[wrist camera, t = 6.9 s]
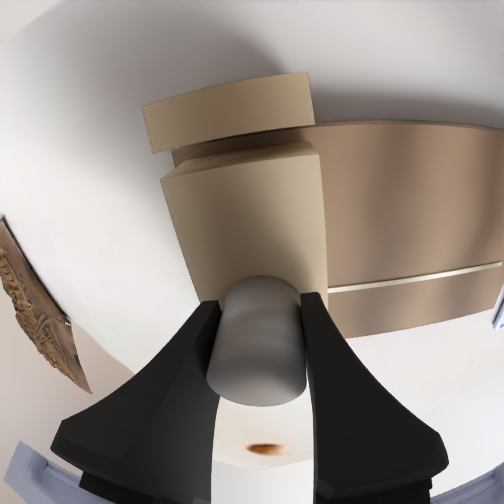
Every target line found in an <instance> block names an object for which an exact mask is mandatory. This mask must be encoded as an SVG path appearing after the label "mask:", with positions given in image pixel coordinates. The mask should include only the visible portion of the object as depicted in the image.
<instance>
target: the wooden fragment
mask: <svg viewBox="0 0 504 504" xmlns="http://www.w3.org/2000/svg"><path fill="white" fill-rule="evenodd" d="M0 276H1V277H2V284H3V287H4V290H5V291H6V293H7V294H8V295H9V296H10V297H11V298H12V302H13V304H14V308H15V311H16V312H17V314H16V315H15V316H16V319H17V321H18V323H19V324H20V327H21V328H22V329H23V330H24V332H25V333H26V334H27V336H28V337H29V339H31V340H32V341H33V343H34V344H35V345H36V347H37V349H38V351H39V353H40V354H43V355H44V357H45V358H46V360H47V361H49V362H50V364H51V365H52V366H53V367H54V368H57V369H58V370H59V371H60V372H61V373H63V374H64V375H65V376H68V377H69V378H70V379H71V380H72V381H73V382H74V383H75V384H76V385H78V386H79V387H80V388H82V389H83V390H85V391H86V392H88V393H90V394H92V392H91V391H90V388H89V386H88V383H87V380H86V378H85V375H84V372H83V370H82V368H81V365H80V362H79V359H78V355H77V351H76V347H75V344H74V339H73V335H72V331H71V326H69V325H66V324H65V322H67V323H69V324H71V322H70V321H69V320H68V319H67V318H66V317H64V316H63V315H62V314H61V312H60V311H59V310H58V308H57V307H56V305H55V304H54V303H53V302H52V300H51V299H50V297H49V296H48V294H47V293H46V291H45V290H44V289H43V287H42V286H41V284H40V282H39V281H38V279H37V278H36V276H35V275H34V273H33V271H32V270H31V268H30V267H29V265H28V263H27V262H26V260H25V258H24V257H23V255H22V253H21V251H20V249H19V248H18V247H17V244H16V242H15V240H14V239H13V237H12V236H11V234H10V232H9V231H8V230H7V228H6V226H5V224H4V222H3V219H2V220H1V221H0Z"/></svg>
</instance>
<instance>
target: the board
mask: <svg viewBox="0 0 504 504" xmlns="http://www.w3.org/2000/svg"><path fill="white" fill-rule="evenodd" d="M305 141H309V142H310V143H311V144H312V146H313V147H314V148H315V150H316V151H317V152H318V154H319V159H320V168H321V178H322V189H323V201H324V215H325V230H326V250H327V279H328V313H329V314H330V316H331V318H332V320H333V322H334V323H335V325H336V326H337V328H338V330H339V331H340V333H341V334H342V336H343V338H344V339H346V338H354V337H361V336H368V335H375V334H381V333H387V332H393V331H398V330H404V329H409V328H414V327H419V326H424V325H429V324H433V323H438V322H442V321H447V320H451V319H455V318H459V317H463V316H467V315H471V314H474V313H478V312H482V311H485V310H489V309H492V308H494V306H495V303H496V301H497V298H498V296H499V293H500V290H501V288H502V285H503V282H504V130H502V129H496V128H490V127H483V126H476V125H468V124H459V123H448V122H435V121H416V120H356V121H336V122H322V123H315V125H305V126H296V127H287V128H279V129H271V130H264V131H257V132H251V133H245V134H239V135H233V136H228V137H222V138H217V139H212V140H208V141H203V142H198V143H194V144H189V145H185V146H181V147H179V148H177V149H175V150H173V151H171V152H172V156H173V160H174V164H175V168H176V167H178V166H179V165H181V164H182V163H183V162H185V161H186V160H191V159H196V158H201V157H206V156H211V155H216V154H221V153H227V152H232V151H238V150H244V149H251V148H257V147H264V146H271V145H279V144H287V143H296V142H305Z"/></svg>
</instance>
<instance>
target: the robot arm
mask: <svg viewBox="0 0 504 504" xmlns="http://www.w3.org/2000/svg"><path fill="white" fill-rule="evenodd" d="M300 300H301V313H302V325H303V333H304V341H305V356H306V368H307V375H308V381H309V388H310V395H311V402H312V411H313V436H314V490H313V504H504V462H503V463H501V464H500V465H498V466H497V467H495V468H494V469H493V470H491V471H489V472H487V473H486V474H484V475H482V476H480V477H478V478H476V479H474V480H472V481H470V482H468V483H465V484H463V485H461V486H459V487H457V488H454V489H452V490H450V491H447V492H444V493H442V494H439V495H437V496H434V497H431V498H430V493H429V490H430V489H431V488H432V479H431V478H432V477H434V476H435V475H437V474H438V473H440V472H441V471H443V470H444V469H446V467H447V466H448V464H449V460H448V455H447V451H446V448H445V446H444V443H443V441H442V439H441V436H440V434H439V433H438V432H436V431H435V430H434V429H432V428H431V427H429V426H428V425H427V424H425V423H424V422H423V421H421V420H420V419H418V418H417V417H416V416H415V415H414V414H413V413H411V412H410V411H409V410H408V409H407V408H405V407H404V406H403V405H402V404H401V403H400V402H399V401H398V400H397V399H396V398H395V397H394V396H392V395H391V394H390V393H389V392H388V391H387V390H386V389H385V388H384V387H383V386H382V385H381V384H380V383H379V382H378V381H377V379H376V378H375V377H374V376H373V375H372V374H371V373H370V372H369V370H368V369H367V368H366V367H365V366H364V365H363V363H362V362H361V361H360V360H359V358H358V357H357V356H356V354H355V353H354V352H353V350H352V349H351V348H350V346H349V345H348V343H347V342H346V340H345V339H344V338H343V336H342V334H341V333H340V331H339V330H338V328H337V326H336V325H335V323H334V322H333V320H332V318H331V316H330V314H329V313H328V311H327V309H326V307H325V305H324V302H323V300H322V298H321V295H320V293H318V292H309V293H300ZM221 314H222V310H221V307H220V304H219V301H218V300H209V301H202V303H201V304H200V305H199V306H198V307H197V308H196V310H195V311H194V312H193V313H192V315H191V316H190V317H189V318H188V319H187V321H186V322H185V323H184V324H183V326H182V327H181V328H180V329H179V330H178V332H177V333H176V334H175V335H174V336H173V337H172V339H171V340H170V341H169V342H168V343H167V344H166V345H165V346H164V347H163V348H162V350H161V351H160V352H159V353H158V354H157V355H156V356H155V357H154V358H153V359H152V360H151V361H150V362H149V363H148V364H147V365H146V366H145V367H144V368H143V369H141V370H140V371H139V372H138V373H137V374H136V375H135V376H133V377H132V378H131V379H130V380H128V381H127V382H126V383H125V384H123V385H122V386H121V387H119V388H118V389H117V390H115V391H114V392H113V393H111V394H110V395H108V396H107V397H105V398H104V399H102V400H101V401H99V402H97V403H96V404H94V405H92V406H90V407H89V408H87V409H85V410H83V411H81V412H79V413H77V414H75V415H73V416H71V417H69V418H67V419H65V420H62V422H61V424H60V426H59V429H58V431H57V433H56V435H55V438H54V440H53V442H52V445H51V447H50V449H51V451H52V452H54V453H55V454H56V455H58V456H59V457H61V458H62V459H64V460H65V461H67V462H68V463H70V464H72V465H74V466H75V467H77V468H79V469H80V470H82V471H83V474H82V477H79V476H77V475H75V474H73V473H71V472H69V471H68V470H66V469H64V468H62V467H60V466H58V465H57V464H55V463H53V462H51V461H50V460H48V459H47V458H46V457H44V456H43V455H41V454H39V453H38V452H37V451H35V450H33V449H32V448H30V447H29V446H28V445H26V444H24V443H23V442H22V441H19V443H18V445H17V447H16V449H15V452H14V454H13V457H12V459H11V461H10V464H9V467H8V469H7V472H6V475H5V477H4V481H5V482H6V483H7V484H8V485H9V486H10V487H11V488H12V489H13V490H15V491H16V492H17V493H18V494H19V495H20V496H21V497H22V498H23V499H24V500H25V501H26V502H27V503H28V504H211V468H212V451H213V438H214V429H215V420H216V414H217V408H218V404H219V399H220V395H218V394H217V393H216V392H215V391H214V390H213V389H212V388H211V387H210V386H209V384H208V382H207V371H208V367H209V363H210V359H211V355H212V351H213V347H214V342H215V338H216V334H217V330H218V326H219V322H220V318H221ZM493 328H494V330H495V331H496V330H499V329H502V328H504V303H503V306H502V308H501V310H500V313H499V315H498V317H497V319H496V321H495V323H494V326H493Z"/></svg>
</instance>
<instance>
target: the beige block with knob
mask: <svg viewBox="0 0 504 504" xmlns="http://www.w3.org/2000/svg"><path fill="white" fill-rule="evenodd" d="M142 110H143V114H144V119H145V123H146V127H147V131H148V136H149V140H150V144H151V148H152V151H153V154H154V153H157V152H161V151H165V150H169V149H173V148H177V147H181V146H185V145H189V144H194V143H198V142H203V141H208V140H212V139H217V138H222V137H228V136H233V135H239V134H245V133H251V132H257V131H264V130H271V129H279V128H287V127H296V126H305V125H315V119H314V112H313V105H312V99H311V93H310V87H309V81H308V75H307V72H299V73H289V74H281V75H273V76H266V77H259V78H253V79H247V80H241V81H236V82H231V83H226V84H221V85H217V86H212V87H208V88H204V89H200V90H196V91H192V92H188V93H185V94H181V95H177V96H174V97H171V98H167V99H164V100H161V101H158V102H155V103H152V104H149V105H146V106H143V107H142ZM160 181H161V185H162V188H163V192H164V195H165V199H166V202H167V205H168V209H169V212H170V215H171V219H172V222H173V225H174V228H175V231H176V234H177V238H178V241H179V244H180V247H181V250H182V253H183V256H184V259H185V262H186V265H187V268H188V271H189V273H190V276H191V279H192V282H193V285H194V288H195V290H196V293H197V296H198V299H199V301H200V304H201V303H202V301H209V300H218V301H219V304H220V307H221V310H222V314H221V318H220V322H219V326H218V330H217V334H216V338H215V342H214V347H213V351H212V355H211V359H210V363H209V367H208V371H207V382H208V384H209V386H210V387H211V388H212V389H213V390H214V391H215V392H216V393H217V394H218V395H220V396H222V397H223V398H225V399H227V400H230V401H232V402H235V403H239V404H243V405H248V406H258V407H265V406H275V405H280V404H284V403H287V402H290V401H292V400H294V399H295V398H297V397H298V396H300V395H301V394H302V393H303V392H304V390H305V388H306V384H307V378H306V356H305V341H304V333H303V325H302V313H301V300H300V293H309V292H318V293H320V295H321V298H322V300H323V302H324V305H325V307H326V309H327V311H328V279H327V250H326V230H325V215H324V201H323V189H322V178H321V168H320V159H319V154H318V152H317V151H316V150H315V148H314V147H313V146H312V144H311V143H310V142H309V141H305V142H296V143H287V144H279V145H271V146H264V147H257V148H251V149H244V150H238V151H232V152H227V153H221V154H216V155H211V156H206V157H201V158H196V159H191V160H186V161H185V162H183V163H182V164H181V165H179V166H178V167H176V168H175V169H174V170H172V171H171V172H170V173H168V174H167V175H166V176H164V177H163V178H162V179H160Z"/></svg>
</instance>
